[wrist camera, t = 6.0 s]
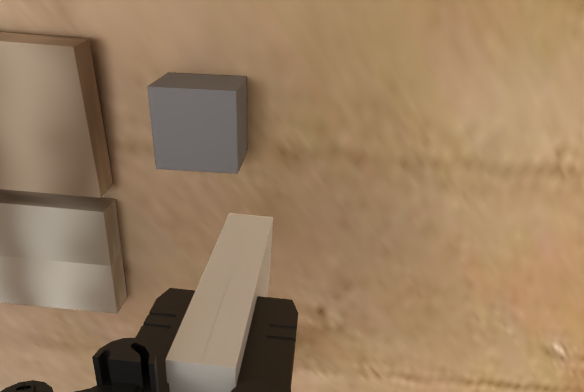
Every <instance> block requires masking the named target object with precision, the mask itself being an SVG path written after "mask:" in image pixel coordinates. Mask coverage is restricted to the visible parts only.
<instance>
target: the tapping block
mask: <svg viewBox="0 0 584 392" xmlns="http://www.w3.org/2000/svg"><path fill="white" fill-rule="evenodd" d="M147 88H148V97H149V107H150V116H151V125H152V135H153V144H154V154H155V163H156V169H166V170H183V171H201V172H218V173H236V174H238V172H239V170H240V167H241V165H242V162H243V160H244V158H245V155H246V153H247V76H230V75H209V74H188V73H167V74H165V75H164V76H162V77H161V78H159V79H158V80H157V81H155V82H154V83H152V84H151V85H149V86H148V87H147Z"/></svg>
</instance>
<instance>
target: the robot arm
mask: <svg viewBox="0 0 584 392" xmlns="http://www.w3.org/2000/svg"><path fill="white" fill-rule="evenodd" d="M272 231H273V217H269V216H259V215H248V214H238V213H229V215H228V217H227V219H226V222H225V224H224V226H223V228H222V231H221V233H220V235H219V238H218V240H217V242H216V245H215V247H214V249H213V251H212V254H211V256H210V258H209V261H208V263H207V265H206V268H205V270H204V272H203V274H202V277H201V279H200V281H199V284H198V286H197V288H196V291H193V290H184V289H174V288H169V289H168V290H167V291H166V292H165V293H163V294H162V295H161V296H160V297H158V298H157V299H156V301H155V303H154V305H153V307H152V308H151V310H150V313H149V315H148V316H147V318H146V320H145V321H144V325H143V326H142V327H141V329H140V331H139V332H138V334H137V336H136V338H123V339H119V340H116V341H113V342H110V343H108V344H107V345H105V346H103V347H102V348H100V349H99V350H98V351H97V353H96V354H95V355H94V356H93V357H92V358H93V364H94V369H95V375H96V381H97V386H95V387H92V388H90V389H86V390H82V391H76V392H291V381H292V371H293V362H294V352H295V342H296V331H297V320H298V312H297V309H296V307H295V305H294V303H293V301H292V300H288V299H279V298H269V297H267V293H268V288H269V283H270V268H271V249H272ZM1 392H53V390H52V387H50V386H49V385H47V384H46V383H45V382H40V381H33V380H32V381H26V382H19V383H17V384H15V385H12V386H10V387H7V388H5V389H4V390H2V391H1Z"/></svg>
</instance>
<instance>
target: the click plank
mask: <svg viewBox="0 0 584 392" xmlns="http://www.w3.org/2000/svg"><path fill="white" fill-rule="evenodd" d="M112 184H113V181H112V175H111V169H110V163H109V157H108V150H107V144H106V138H105V132H104V126H103V120H102V114H101V108H100V102H99V96H98V90H97V84H96V78H95V72H94V66H93V60H92V54H91V47H90V41H89V39H84V38H71V37H58V36H45V35H32V34H19V33H6V32H0V189H5V190H17V191H28V192H40V193H51V194H63V195H75V196H86V197H98V198H101V197H102V196H103V195H104V194H105V192H106V191H107V190H108V189H109V187H110V186H111V185H112Z"/></svg>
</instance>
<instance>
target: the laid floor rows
mask: <svg viewBox="0 0 584 392" xmlns="http://www.w3.org/2000/svg"><path fill="white" fill-rule="evenodd" d="M126 298H127V292H126V284H125V275H124V267H123V259H122V251H121V242H120V234H119V226H118V218H117V209H116V201H115V199H109V198H98V197H86V196H75V195H63V194H51V193H40V192H28V191H17V190H5V189H0V303H8V304H19V305H30V306H40V307H51V308H62V309H72V310H83V311H94V312H105V313H115V314H117V313H118V312H119V310H120V308H121V307H122V305H123V303H124V302H125V300H126Z"/></svg>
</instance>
